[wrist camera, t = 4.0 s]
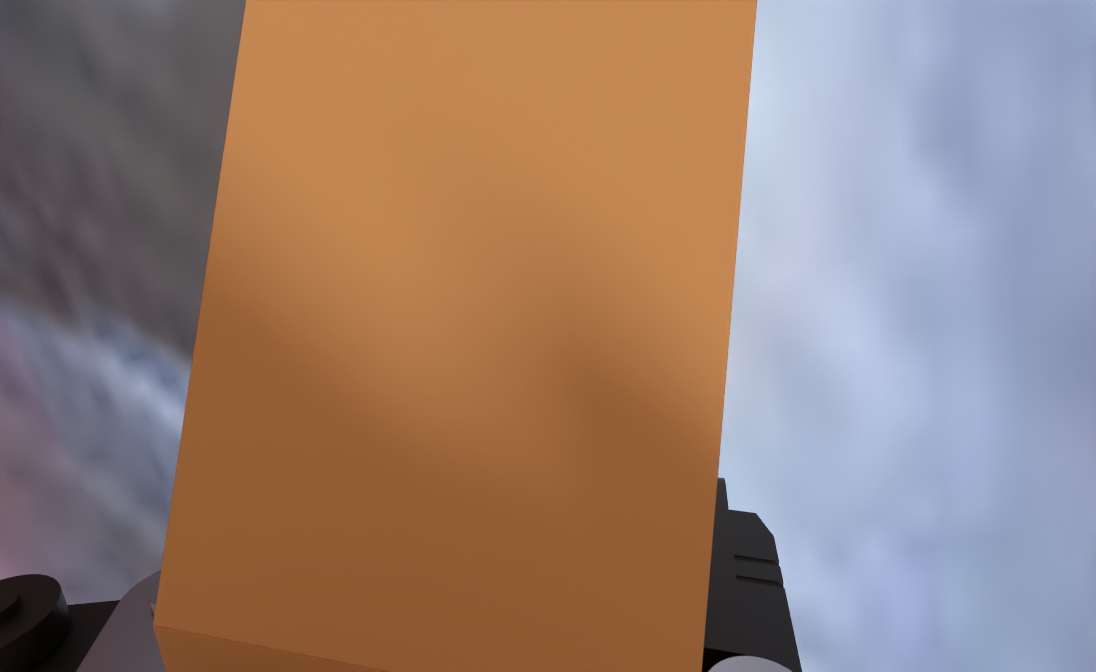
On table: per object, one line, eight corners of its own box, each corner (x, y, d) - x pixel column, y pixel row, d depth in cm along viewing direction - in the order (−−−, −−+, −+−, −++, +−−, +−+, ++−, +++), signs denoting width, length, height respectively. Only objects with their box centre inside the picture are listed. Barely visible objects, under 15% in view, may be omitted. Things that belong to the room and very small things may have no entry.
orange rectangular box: (376, -87, 9) (-141, -390, 3) (744, -98, 8) (899, -541, 2) (421, 543, 13) (227, 881, 7) (666, 581, 12) (654, 998, 6)
